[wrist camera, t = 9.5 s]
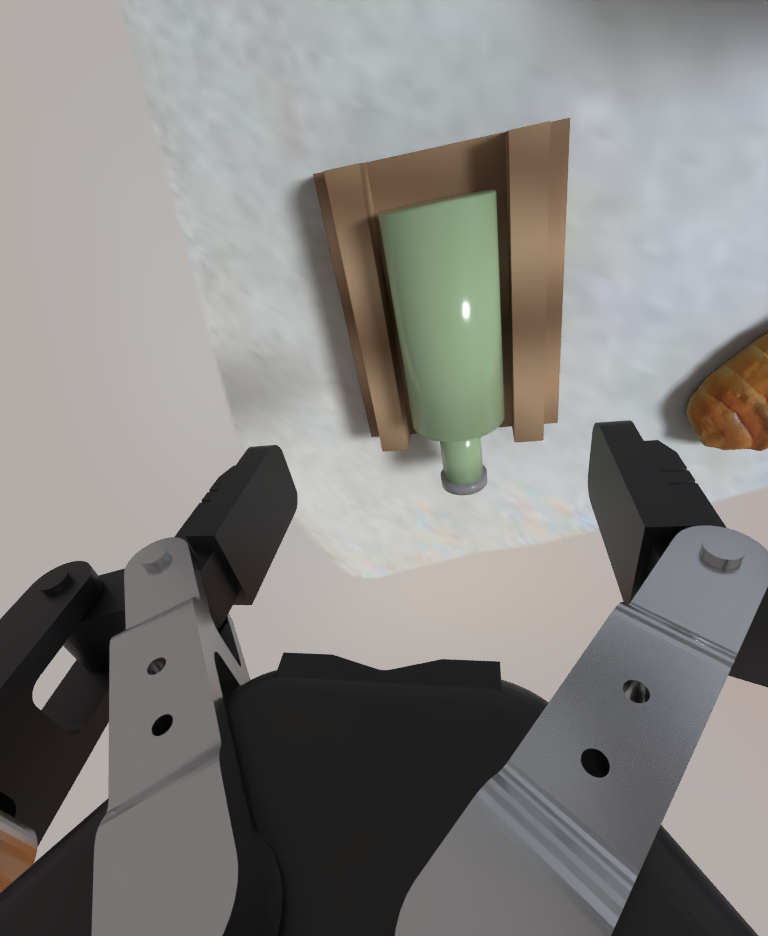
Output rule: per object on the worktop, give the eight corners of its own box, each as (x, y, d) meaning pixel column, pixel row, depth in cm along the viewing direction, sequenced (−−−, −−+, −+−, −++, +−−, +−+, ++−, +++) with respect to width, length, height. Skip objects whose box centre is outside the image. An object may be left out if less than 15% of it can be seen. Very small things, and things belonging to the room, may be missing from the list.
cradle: (320, 173, 21) (301, 176, 19) (564, 119, 19) (579, 114, 17) (374, 427, 29) (366, 452, 27) (554, 412, 27) (562, 439, 24)
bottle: (387, 207, 21) (367, 221, 17) (494, 186, 20) (498, 195, 16) (426, 460, 29) (419, 509, 25) (504, 456, 27) (509, 506, 24)
